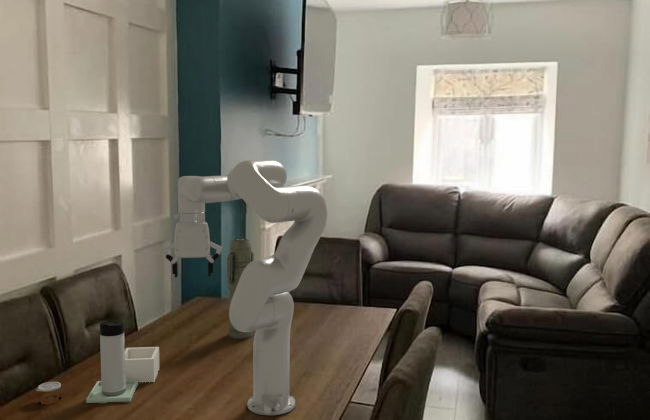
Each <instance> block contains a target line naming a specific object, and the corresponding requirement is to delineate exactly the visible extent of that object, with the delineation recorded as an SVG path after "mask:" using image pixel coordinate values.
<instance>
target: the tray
mask: <svg viewBox="0 0 650 420" xmlns="http://www.w3.org/2000/svg"><path fill="white" fill-rule="evenodd" d="M125 385H126V391H125V392H124V393H122V394H120V395H117V396H105V395H103V394H102V384H101V380H98V381H96V383H95V385H94V386H93V388H92V389H91V391H90V392H89V394H88V396H87V397H86V398H85V399H86V401H85V404H86V403H99V404H108V403H107V402H124V403H131V401H132V399H133V397H134V395H135V393H136V391H135V390H137V389H136V388H138V387H139V383H138V380H126V384H125ZM134 392H135V393H134ZM133 394H134V395H133Z"/></svg>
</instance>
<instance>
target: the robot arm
mask: <svg viewBox="0 0 650 420" xmlns="http://www.w3.org/2000/svg"><path fill="white" fill-rule="evenodd" d="M287 178H288V174H287V170H286V169H285V167H284V165H283V164H281V163H280V162H278V161H277V160H271V159H254V160H252V159H251V160H250V159H248V160H247V159H245V160H242V161H239V162H238V163H237V164H235V166H234V167H233V168H232V169H231V170H230V171H229V172H228V175H227V174H226V175H210V176H209V175H207V176H205V175H204V176H199V175H184V176H180V177H179V178H178V180H177V193H178V194H177V195H178V196H177V198H178V200H177V202H178V213H177V214H173V220H176V221H178V222H177V223H176V224H175V229H174V242H173V243H170V244H169V245H167V246H165V247H163V248H162V249H161V251H162V253H163V255H164V257H165V258H166V260H168V261H169V262H170V263H171V267H172V268H171V269H172V270H171V271H172V275H174V278H177V277H178V276H179V264H178V263H179V262H178V260H179V259H194V258H195V259H198V258H199V259H200V258H202V259H203V258H206V259H207V272H208V273H207V276H208V277H211V275H212V274H213V273H214V262H215V261H216V260H217V259H219V256H220V255H221V253H222V252H223V246H222V245H219V244H216V243H214V242H213V241H211V239H210V228H209V225H208V222H206V204H210V203H211V204H212V203H221V202H223V203H224V202H231V201H232V202H233V201H236V200H243V201H244V203H245V204H247V206H249V208H250V209H252V210H253V212H254V213H256V215H257V216H258V217H259V218H260V219H261V220H262V221H265V222H267V223H271V224H278V223H287V222H293V223H292V224H291V225H290V226H289V227H288V229H287V230H286V231H285V232H284V233H283V235H282V237H281V238H280V240H279V244H278V246H277V247H276V250H275V251H274V253H273V254H272V255H270V256H266V257H261V258H257V259H254V261H252V262H250V263H249V264H248V265H247V266H246V267H245V269H244V270H243V272H242V274H241V277H240V279H239V282H238V285H237V287H236V290H235V293H234V295H233V298H232V301H231V304H230V303H229V309H228V310H229V312H228V314H229V315H228V318H229V317H230V321H231V323H232V325H233V327H234V328H235V329H236V330H238V331H241V332H251V331H253V332H255V333H254V334H253V344H252V360H253V361H252V362H253V363H252V365H253V366H252V368H253V369H252V372H253V373H252V375H253V376H252V379H253V381H252V382H253V383H252V384H253V387H252V388H253V389H252V390H253V391H252V393H253V394H252V396H251V397H250V398H249V399H248V401H247V405H246V406H247V408H248V410H249V411H250V412H252V413H254V414H257V415H259V416H260V415H261V416H279V415H280V416H281V415H283V414H286V413H289V412H291V411H292V410H294V409H295V407H296V399H295V397H294V396H292V395H290V380H291V379H290V378H291V377H290V370H291V369H290V366H291V365H290V363H291V361H290V360H291V359H290V358H291V357H290V353H291V352H290V351H291V349H290V347H291V345H290V344H291V342H290V341H291V328H292V321H293V316H294V309H295V305H294V299H293V296H292V295H291V294H290V292H291V291H293V290H295V289H297V288H298V286H299V285H300V282H301V280H302V279H303V277H304V274H305V272H306V269H307V267H308V265H309V262H310V260H311V258H312V256H313V255H312V254H313V253H314V250H315V248H316V246H317V244H318V243H319V240H320V238H321V237H322V235H323V232H324V230H325V227H326V225H327V220H328V219H327V218H328V208H327V203H326V200H325V198H324V196H323V194H322V193H321V191H319V190H318V189H317V188H314V187H312V186H308V185H290V186H289V185H287V186H285V184H286V182H287ZM211 248H213V249H214V250H216V252H215V253H214V254H213V255H211ZM173 249H174V256H172V254H171V253H170V252H169V251H170V250H173Z"/></svg>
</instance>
